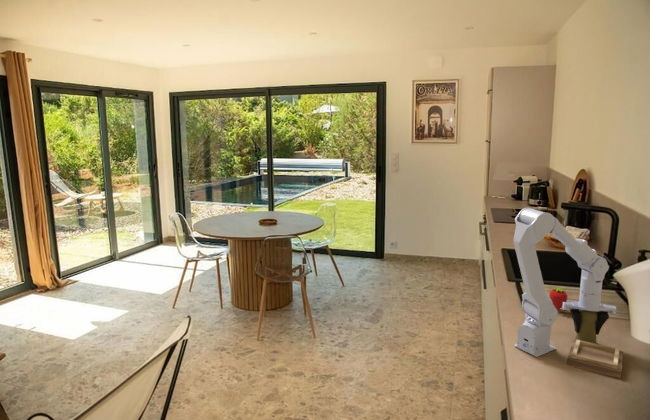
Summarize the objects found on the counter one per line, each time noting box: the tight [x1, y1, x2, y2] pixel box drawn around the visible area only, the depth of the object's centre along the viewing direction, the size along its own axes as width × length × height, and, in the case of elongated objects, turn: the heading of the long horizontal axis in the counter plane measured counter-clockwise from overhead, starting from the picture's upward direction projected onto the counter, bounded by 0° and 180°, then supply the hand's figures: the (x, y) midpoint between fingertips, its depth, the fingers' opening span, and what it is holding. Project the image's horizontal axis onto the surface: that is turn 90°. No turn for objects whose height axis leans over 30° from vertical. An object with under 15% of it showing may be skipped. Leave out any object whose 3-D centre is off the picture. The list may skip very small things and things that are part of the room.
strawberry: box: [548, 286, 568, 311], centre depth 164 cm, size 6×8×10 cm
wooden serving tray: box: [566, 339, 624, 379], centre depth 128 cm, size 13×13×3 cm
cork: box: [574, 310, 598, 344], centre depth 139 cm, size 6×6×11 cm
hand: (586, 332), depth 139 cm, fingers closed on cork, 5 cm apart
